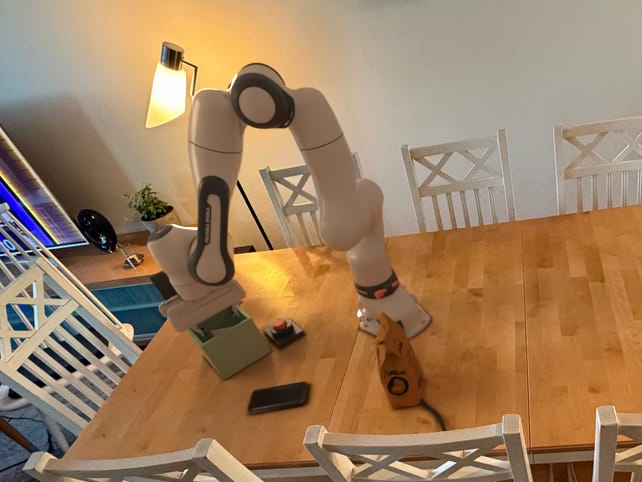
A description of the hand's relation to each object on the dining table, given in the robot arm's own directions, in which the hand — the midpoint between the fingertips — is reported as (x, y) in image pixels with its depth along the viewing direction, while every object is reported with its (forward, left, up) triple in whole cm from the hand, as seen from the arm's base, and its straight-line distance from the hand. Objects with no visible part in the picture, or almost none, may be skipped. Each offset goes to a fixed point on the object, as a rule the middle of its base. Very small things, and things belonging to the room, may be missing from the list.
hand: (220, 325), depth 141 cm
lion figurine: (+22, -9, -12) cm, 27 cm away
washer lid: (+8, 0, +9) cm, 12 cm away
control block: (-2, -14, -12) cm, 18 cm away
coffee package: (-51, -24, -12) cm, 57 cm away
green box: (+2, 0, -12) cm, 12 cm away
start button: (-2, -14, -9) cm, 17 cm away
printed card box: (0, 0, -11) cm, 11 cm away
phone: (-26, 0, -12) cm, 28 cm away
